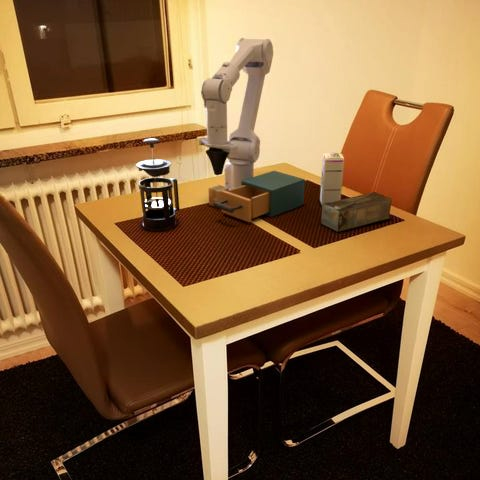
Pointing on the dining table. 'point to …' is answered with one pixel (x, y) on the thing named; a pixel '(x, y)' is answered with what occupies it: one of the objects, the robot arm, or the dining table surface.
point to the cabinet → (279, 190)
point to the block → (216, 194)
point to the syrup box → (331, 177)
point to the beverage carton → (355, 211)
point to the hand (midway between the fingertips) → (218, 174)
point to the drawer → (244, 202)
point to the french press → (157, 208)
